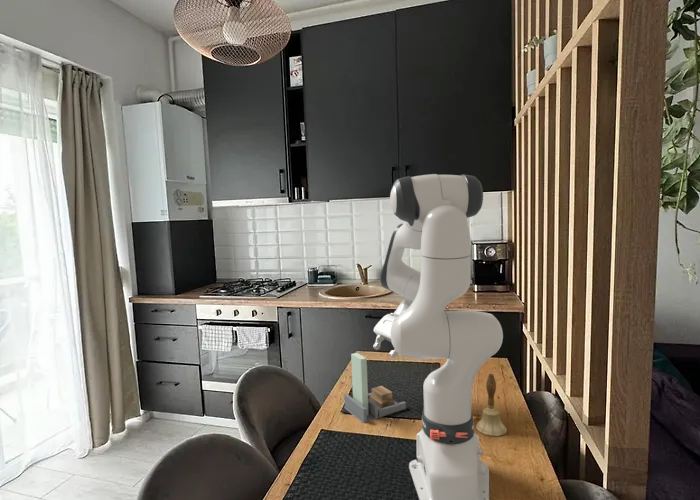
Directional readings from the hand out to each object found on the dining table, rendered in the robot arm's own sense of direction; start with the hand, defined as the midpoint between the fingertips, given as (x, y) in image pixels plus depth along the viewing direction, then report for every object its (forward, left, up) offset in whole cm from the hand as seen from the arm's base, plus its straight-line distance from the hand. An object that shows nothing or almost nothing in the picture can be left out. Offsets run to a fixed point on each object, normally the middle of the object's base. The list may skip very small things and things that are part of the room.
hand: (383, 352), depth 129 cm
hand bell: (-11, -31, -19) cm, 38 cm away
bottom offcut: (-1, +1, -17) cm, 17 cm away
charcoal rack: (-2, +3, -18) cm, 19 cm away
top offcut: (-1, +1, -15) cm, 15 cm away
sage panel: (-5, +7, -17) cm, 19 cm away
